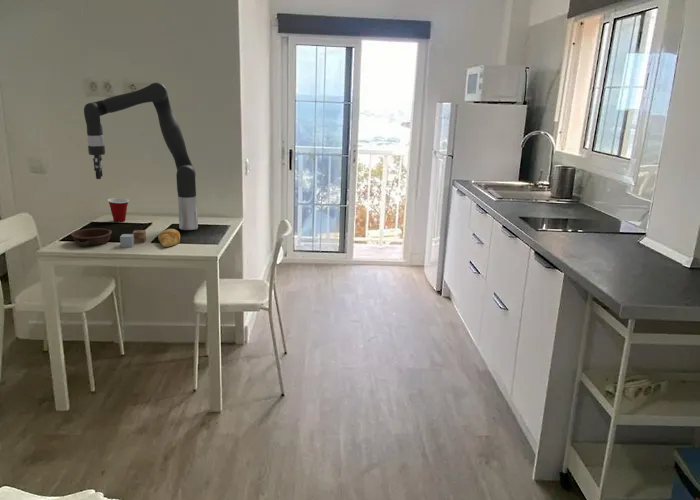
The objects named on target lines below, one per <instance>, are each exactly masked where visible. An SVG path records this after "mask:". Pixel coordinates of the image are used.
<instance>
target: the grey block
mask: <svg viewBox="0 0 700 500" xmlns="http://www.w3.org/2000/svg"><path fill="white" fill-rule="evenodd" d="M119 243H120V248H133V247H134V245H135V243H134V234H133V233H122V234H121V235H120V236H119Z"/></svg>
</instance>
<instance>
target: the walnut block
mask: <svg viewBox="0 0 700 500" xmlns="http://www.w3.org/2000/svg"><path fill="white" fill-rule="evenodd" d="M132 234H134V244H137V243H139V244H140V243H141V244H142V243H143V244H144V243H145V242H146V241H147V231H146V229H134V230H133V231H132Z"/></svg>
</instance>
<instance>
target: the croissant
mask: <svg viewBox="0 0 700 500" xmlns="http://www.w3.org/2000/svg"><path fill="white" fill-rule="evenodd" d="M157 238H158V241H159V243H160V244H161V246H162V247H163V248H167V247H172V246H176V245H178V244H180V242H181V234H180V231H178V230H177V229H175V228H168V229H165V230H162V231H161V232H160V233H159V234H158V235H157Z"/></svg>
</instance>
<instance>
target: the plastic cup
mask: <svg viewBox="0 0 700 500" xmlns="http://www.w3.org/2000/svg"><path fill="white" fill-rule="evenodd" d="M107 202H108V204H109V208H110V212H111V216H112V219H113V222H115V223H124V222H126V217H127V210H128V205H129V202H130V199H127V198H122V197H121V198H120V197H111V198H108V199H107Z"/></svg>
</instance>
